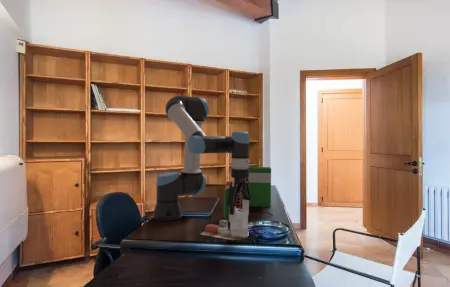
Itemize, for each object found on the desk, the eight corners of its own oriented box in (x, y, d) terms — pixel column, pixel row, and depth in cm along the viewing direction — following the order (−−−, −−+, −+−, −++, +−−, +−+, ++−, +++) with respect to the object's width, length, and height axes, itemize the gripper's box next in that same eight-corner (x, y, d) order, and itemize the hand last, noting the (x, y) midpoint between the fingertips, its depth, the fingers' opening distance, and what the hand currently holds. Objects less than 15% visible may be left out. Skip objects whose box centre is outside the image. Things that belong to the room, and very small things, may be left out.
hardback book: (269, 204, 192) (270, 167, 191) (270, 206, 184) (271, 168, 184) (242, 203, 193) (243, 166, 193) (242, 205, 186) (242, 167, 185)
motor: (239, 222, 149) (239, 183, 148) (221, 221, 150) (222, 182, 150) (242, 217, 159) (242, 180, 158) (225, 216, 160) (226, 179, 160)
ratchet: (202, 233, 129) (203, 216, 129) (211, 228, 136) (212, 212, 136) (244, 240, 120) (244, 222, 120) (251, 235, 127) (251, 218, 127)
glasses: (236, 212, 171) (236, 203, 171) (261, 210, 177) (261, 202, 176) (246, 218, 158) (246, 209, 158) (273, 216, 164) (273, 207, 163)
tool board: (200, 236, 128) (200, 234, 128) (214, 228, 139) (214, 226, 139) (251, 246, 117) (251, 243, 117) (262, 236, 129) (262, 234, 128)
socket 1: (217, 230, 133) (217, 221, 133) (221, 227, 137) (221, 219, 137) (225, 231, 132) (225, 222, 132) (229, 228, 135) (229, 220, 135)
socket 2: (230, 230, 124) (230, 210, 124) (235, 226, 129) (236, 207, 129) (242, 232, 122) (242, 212, 121) (247, 228, 127) (248, 209, 126)
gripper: (235, 171, 112) (235, 227, 112) (258, 166, 134) (257, 212, 135) (218, 170, 115) (217, 224, 116) (243, 165, 138) (242, 210, 138)
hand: (239, 218), depth 125 cm, fingers open, 13 cm apart
